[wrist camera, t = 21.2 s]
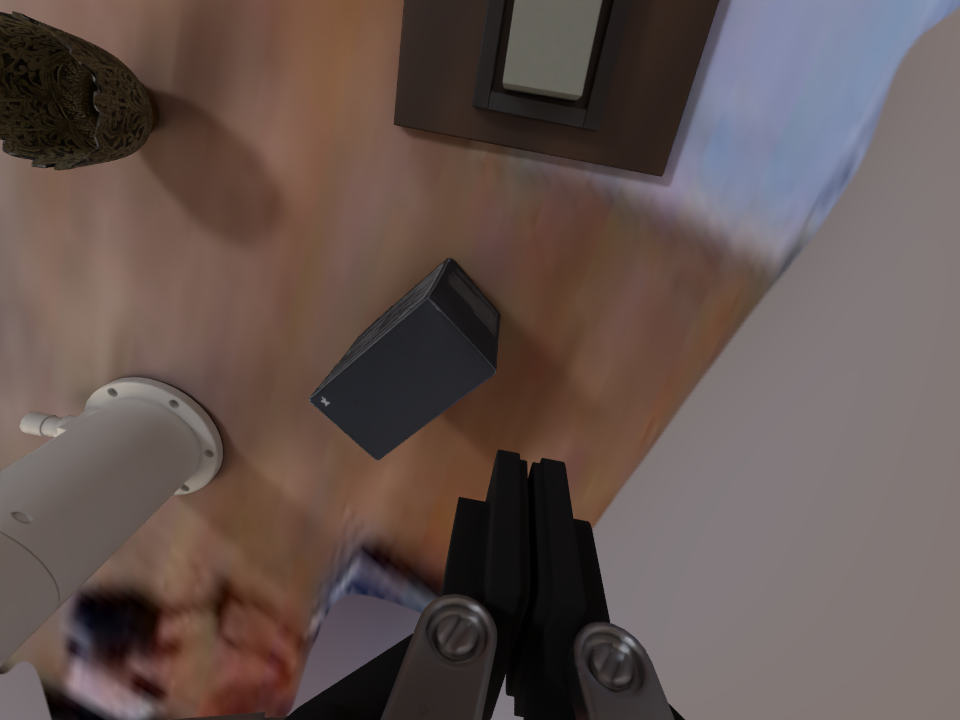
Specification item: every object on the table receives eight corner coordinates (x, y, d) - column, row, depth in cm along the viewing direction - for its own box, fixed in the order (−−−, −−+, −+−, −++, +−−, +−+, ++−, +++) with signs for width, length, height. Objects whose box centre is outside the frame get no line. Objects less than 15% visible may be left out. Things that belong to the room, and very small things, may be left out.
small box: (411, 391, 39) (376, 468, 30) (356, 337, 38) (300, 399, 28) (505, 317, 36) (501, 377, 26) (450, 253, 34) (423, 292, 25)
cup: (63, 58, 31) (-77, 29, 23) (160, 31, 30) (43, -9, 22) (119, 175, 34) (10, 182, 26) (208, 154, 33) (120, 155, 25)
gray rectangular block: (504, 90, 29) (502, 83, 26) (525, -52, 26) (526, -80, 23) (574, 102, 29) (581, 96, 25) (604, -39, 26) (616, -66, 23)
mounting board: (397, 125, 31) (387, 123, 29) (421, -159, 25) (412, -190, 23) (658, 176, 31) (669, 178, 29) (744, -95, 25) (767, -120, 23)
